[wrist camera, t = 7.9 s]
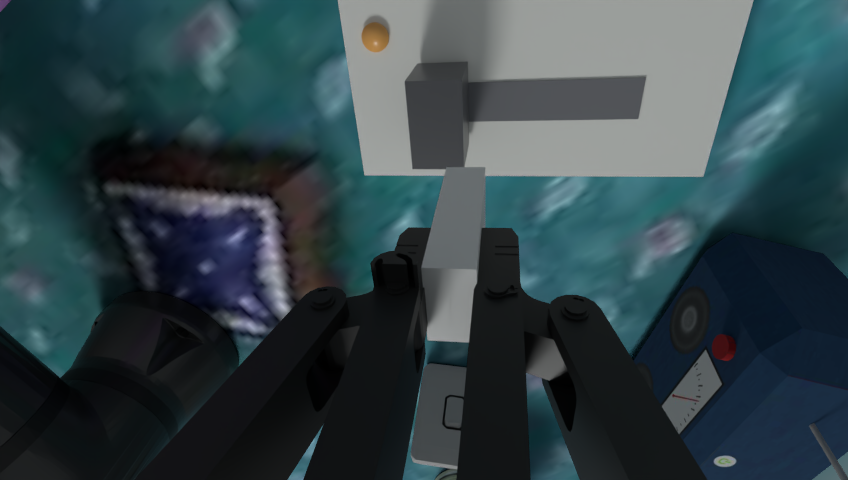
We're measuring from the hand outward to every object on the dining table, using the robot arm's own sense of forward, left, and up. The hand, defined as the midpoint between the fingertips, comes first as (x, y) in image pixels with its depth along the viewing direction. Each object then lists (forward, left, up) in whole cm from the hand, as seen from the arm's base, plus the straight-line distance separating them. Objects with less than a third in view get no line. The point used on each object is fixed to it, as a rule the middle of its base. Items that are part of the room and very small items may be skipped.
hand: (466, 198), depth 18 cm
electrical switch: (-1, -30, -16) cm, 34 cm away
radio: (+18, -21, -16) cm, 32 cm away
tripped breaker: (-2, 0, -12) cm, 12 cm away
